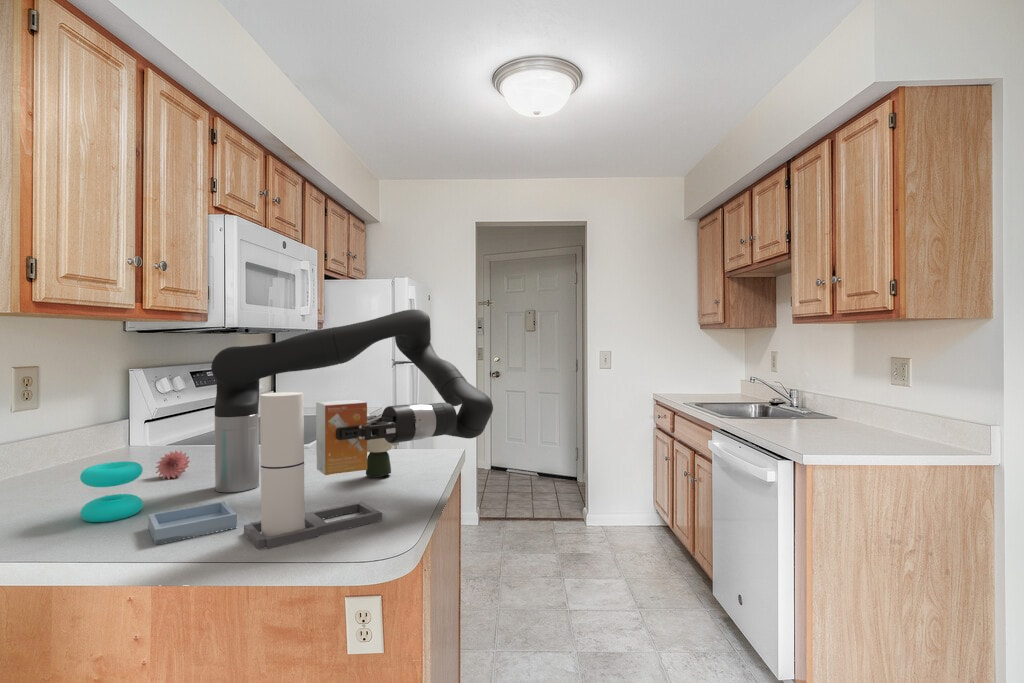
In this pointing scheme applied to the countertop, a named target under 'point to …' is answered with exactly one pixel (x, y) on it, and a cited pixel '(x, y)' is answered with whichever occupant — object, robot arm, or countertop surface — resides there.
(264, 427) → the cylindrical container
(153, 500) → the countertop surface
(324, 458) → the small box
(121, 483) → the donuts
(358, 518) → the holder
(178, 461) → the flower
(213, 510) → the tray
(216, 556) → the countertop surface
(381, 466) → the character mug
